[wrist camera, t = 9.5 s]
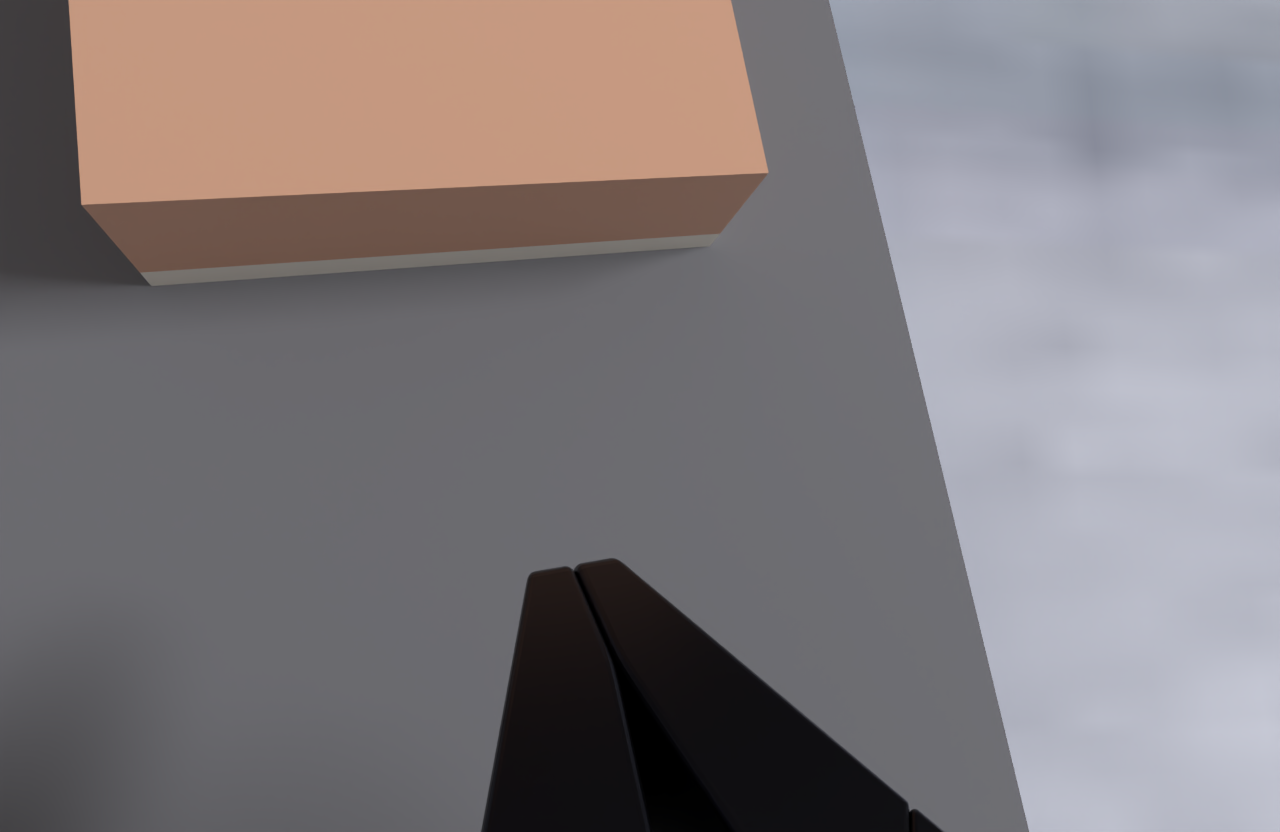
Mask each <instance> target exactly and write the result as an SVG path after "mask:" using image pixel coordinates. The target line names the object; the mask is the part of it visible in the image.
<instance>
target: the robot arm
mask: <svg viewBox="0 0 1280 832" xmlns="http://www.w3.org/2000/svg"><path fill="white" fill-rule="evenodd" d="M481 832H944V831H943V830H942V829H941V828H940V827H938V826H937V825H936V824H935V823H934V822H932V821H931V820H930V819H929V818H928V817H926V816H925V815H924V814H923V813H922V812H920V811H919V810H918V809H912V810H911V811H910V809H909V803H908V801H907V800H906V799H904V798H903V797H902V796H901V795H900V794H898V793H897V792H896V791H895V790H894V789H892V788H891V787H890V786H889V785H888V784H886V783H885V782H884V781H883V780H882V779H881V778H879V777H878V776H877V775H876V774H875V773H873V772H872V771H871V770H870V769H869V768H867V767H866V766H865V765H864V764H863V763H861V762H860V761H859V760H858V759H857V758H855V757H854V756H853V755H852V754H851V753H849V752H848V751H847V750H846V749H845V748H843V747H842V746H841V745H840V744H839V743H838V742H836V741H835V740H834V739H833V738H832V737H830V736H829V735H828V734H827V733H826V732H824V731H823V730H822V729H821V728H820V727H818V726H817V725H816V724H815V723H814V722H812V721H811V720H810V719H809V718H808V717H806V716H805V715H804V714H803V713H802V712H801V711H799V710H798V709H797V708H796V707H795V706H793V705H792V704H791V703H790V702H789V701H787V700H786V699H785V698H784V697H783V696H781V695H780V694H779V693H778V692H777V691H775V690H774V689H773V688H772V687H771V686H769V685H768V684H767V683H766V682H765V681H764V680H762V679H761V678H760V677H759V676H758V675H756V674H755V673H754V672H753V671H752V670H750V669H749V668H748V667H747V666H746V665H744V664H743V663H742V662H741V661H740V660H738V659H737V658H736V657H735V656H734V655H732V654H731V653H730V652H729V651H728V650H727V649H725V648H724V647H723V646H722V645H721V644H719V643H718V642H717V641H716V640H715V639H713V638H712V637H711V636H710V635H709V634H707V633H706V632H705V631H704V630H703V629H701V628H700V627H699V626H698V625H697V624H695V623H694V622H693V621H692V620H691V619H690V618H688V617H687V616H686V615H685V614H684V613H682V612H681V611H680V610H679V609H678V608H676V607H675V606H674V605H673V604H672V603H670V602H669V601H668V600H667V599H666V598H664V597H663V596H662V595H661V594H660V593H658V592H657V591H656V590H655V589H654V588H653V587H651V586H650V585H649V584H648V583H647V582H645V581H644V580H643V579H642V578H641V577H639V576H638V575H637V574H636V573H635V572H633V571H632V570H631V569H630V568H629V567H627V566H626V565H625V564H624V563H623V562H621V561H620V560H618V559H615V558H608V559H602V560H596V561H591V562H585V563H580V564H578V565H577V566H576V567H575V568H574V570H573V569H572V568H570V567H568V566H562V567H556V568H551V569H545V570H539V571H534V572H532V573H530V574H529V576H528V578H527V582H526V588H525V593H524V599H523V604H522V609H521V615H520V620H519V626H518V631H517V637H516V642H515V648H514V653H513V659H512V664H511V670H510V675H509V681H508V686H507V692H506V697H505V703H504V708H503V714H502V719H501V725H500V730H499V736H498V741H497V747H496V752H495V758H494V763H493V769H492V774H491V780H490V785H489V791H488V796H487V801H486V807H485V812H484V818H483V823H482V829H481Z"/></svg>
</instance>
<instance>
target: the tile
mask: <svg viewBox="0 0 1280 832" xmlns="http://www.w3.org/2000/svg"><path fill="white" fill-rule="evenodd" d="M69 15H70V31H71V47H72V63H73V78H74V94H75V110H76V126H77V142H78V158H79V174H80V189H81V205H82V206H83V207H84V208H85V209H86V211H87V212H88V213H89V214H90V215H91V216H92V218H93V219H94V220H95V221H96V222H97V223H98V225H99V226H100V227H101V228H102V229H103V230H104V232H105V233H106V234H107V235H108V236H109V237H110V239H111V240H112V241H113V242H114V243H115V244H116V246H117V247H118V248H119V249H120V250H121V251H122V252H123V254H124V255H125V256H126V257H127V258H128V259H129V261H130V262H131V263H132V264H133V265H134V266H135V268H136V269H137V270H138V271H139V272H140V273H141V275H142V276H143V277H144V278H145V279H146V280H147V282H148V283H149V284H150V285H151V286H160V285H174V284H188V283H202V282H216V281H230V280H244V279H258V278H272V277H286V276H300V275H314V274H328V273H342V272H356V271H370V270H384V269H398V268H412V267H426V266H440V265H454V264H468V263H482V262H497V261H511V260H525V259H539V258H553V257H567V256H581V255H595V254H609V253H623V252H637V251H651V250H665V249H679V248H693V247H707V246H710V245H711V244H712V243H713V242H714V240H715V239H716V238H717V237H718V236H719V234H720V233H721V232H722V231H723V229H724V228H725V227H726V226H727V224H728V223H729V222H730V221H731V219H732V218H733V217H734V216H735V214H736V213H737V212H738V211H739V209H740V208H741V207H742V206H743V204H744V203H745V202H746V201H747V199H748V198H749V197H750V196H751V194H752V193H753V192H754V191H755V189H756V188H757V187H758V186H759V184H760V183H761V182H762V181H763V179H764V178H765V177H766V176H767V174H768V173H769V172H768V168H767V163H766V159H765V154H764V149H763V145H762V140H761V136H760V131H759V127H758V122H757V117H756V113H755V108H754V104H753V99H752V94H751V90H750V85H749V81H748V76H747V72H746V67H745V62H744V58H743V53H742V49H741V44H740V39H739V35H738V30H737V26H736V21H735V17H734V12H733V7H732V3H731V0H69Z"/></svg>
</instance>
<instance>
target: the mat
mask: <svg viewBox="0 0 1280 832" xmlns="http://www.w3.org/2000/svg"><path fill="white" fill-rule="evenodd" d="M731 3H732V7H733V12H734V17H735V21H736V26H737V30H738V35H739V39H740V44H741V49H742V53H743V58H744V62H745V67H746V72H747V76H748V81H749V85H750V90H751V94H752V99H753V104H754V108H755V113H756V117H757V122H758V127H759V131H760V136H761V140H762V145H763V149H764V154H765V159H766V163H767V168H768V172H769V173H768V174H767V176H766V177H765V178H764V179H763V181H762V182H761V183H760V184H759V186H758V187H757V188H756V189H755V191H754V192H753V193H752V194H751V196H750V197H749V198H748V199H747V201H746V202H745V203H744V204H743V206H742V207H741V208H740V209H739V211H738V212H737V213H736V214H735V216H734V217H733V218H732V219H731V221H730V222H729V223H728V224H727V226H726V227H725V228H724V229H723V231H722V232H721V233H720V234H719V236H718V237H717V238H716V239H715V240H714V242H713V243H712V244H711V245H710V246H707V247H693V248H679V249H665V250H651V251H637V252H623V253H609V254H595V255H581V256H567V257H553V258H539V259H525V260H511V261H497V262H482V263H468V264H454V265H440V266H426V267H412V268H398V269H384V270H370V271H356V272H342V273H328V274H314V275H300V276H286V277H272V278H258V279H244V280H230V281H216V282H202V283H188V284H174V285H160V286H151V285H150V284H149V283H148V282H147V280H146V279H145V278H144V277H143V276H142V275H141V273H140V272H139V271H138V270H137V269H136V268H135V266H134V265H133V264H132V263H131V262H130V261H129V259H128V258H127V257H126V256H125V255H124V254H123V252H122V251H121V250H120V249H119V248H118V247H117V246H116V244H115V243H114V242H113V241H112V240H111V239H110V237H109V236H108V235H107V234H106V233H105V232H104V230H103V229H102V228H101V227H100V226H99V225H98V223H97V222H96V221H95V220H94V219H93V218H92V216H91V215H90V214H89V213H88V212H87V211H86V209H85V208H84V207H83V206H82V205H81V189H80V174H79V158H78V142H77V126H76V110H75V94H74V78H73V63H72V47H71V31H70V15H69V0H0V832H481V829H482V823H483V818H484V812H485V807H486V801H487V796H488V791H489V785H490V780H491V774H492V769H493V763H494V758H495V752H496V747H497V741H498V736H499V730H500V725H501V719H502V714H503V708H504V703H505V697H506V692H507V686H508V681H509V675H510V670H511V664H512V659H513V653H514V648H515V642H516V637H517V631H518V626H519V620H520V615H521V609H522V604H523V599H524V593H525V588H526V582H527V578H528V576H529V574H530V573H532V572H534V571H539V570H545V569H551V568H556V567H562V566H568V567H570V568H572V569H573V570H574V568H575V567H576V566H577V565H578V564H580V563H585V562H591V561H596V560H602V559H608V558H615V559H618V560H620V561H621V562H623V563H624V564H625V565H626V566H627V567H629V568H630V569H631V570H632V571H633V572H635V573H636V574H637V575H638V576H639V577H641V578H642V579H643V580H644V581H645V582H647V583H648V584H649V585H650V586H651V587H653V588H654V589H655V590H656V591H657V592H658V593H660V594H661V595H662V596H663V597H664V598H666V599H667V600H668V601H669V602H670V603H672V604H673V605H674V606H675V607H676V608H678V609H679V610H680V611H681V612H682V613H684V614H685V615H686V616H687V617H688V618H690V619H691V620H692V621H693V622H694V623H695V624H697V625H698V626H699V627H700V628H701V629H703V630H704V631H705V632H706V633H707V634H709V635H710V636H711V637H712V638H713V639H715V640H716V641H717V642H718V643H719V644H721V645H722V646H723V647H724V648H725V649H727V650H728V651H729V652H730V653H731V654H732V655H734V656H735V657H736V658H737V659H738V660H740V661H741V662H742V663H743V664H744V665H746V666H747V667H748V668H749V669H750V670H752V671H753V672H754V673H755V674H756V675H758V676H759V677H760V678H761V679H762V680H764V681H765V682H766V683H767V684H768V685H769V686H771V687H772V688H773V689H774V690H775V691H777V692H778V693H779V694H780V695H781V696H783V697H784V698H785V699H786V700H787V701H789V702H790V703H791V704H792V705H793V706H795V707H796V708H797V709H798V710H799V711H801V712H802V713H803V714H804V715H805V716H806V717H808V718H809V719H810V720H811V721H812V722H814V723H815V724H816V725H817V726H818V727H820V728H821V729H822V730H823V731H824V732H826V733H827V734H828V735H829V736H830V737H832V738H833V739H834V740H835V741H836V742H838V743H839V744H840V745H841V746H842V747H843V748H845V749H846V750H847V751H848V752H849V753H851V754H852V755H853V756H854V757H855V758H857V759H858V760H859V761H860V762H861V763H863V764H864V765H865V766H866V767H867V768H869V769H870V770H871V771H872V772H873V773H875V774H876V775H877V776H878V777H879V778H881V779H882V780H883V781H884V782H885V783H886V784H888V785H889V786H890V787H891V788H892V789H894V790H895V791H896V792H897V793H898V794H900V795H901V796H902V797H903V798H904V799H906V800H907V801H908V803H909V809H910V811H911V810H912V809H918V810H919V811H920V812H922V813H923V814H924V815H925V816H926V817H928V818H929V819H930V820H931V821H932V822H934V823H935V824H936V825H937V826H938V827H940V828H941V829H942V830H943V831H944V832H1029V830H1028V826H1027V821H1026V817H1025V813H1024V809H1023V805H1022V801H1021V797H1020V792H1019V788H1018V784H1017V780H1016V776H1015V772H1014V767H1013V763H1012V759H1011V755H1010V751H1009V747H1008V743H1007V738H1006V734H1005V730H1004V726H1003V722H1002V718H1001V714H1000V709H999V705H998V701H997V697H996V693H995V689H994V684H993V680H992V676H991V672H990V668H989V664H988V660H987V655H986V651H985V647H984V643H983V639H982V635H981V631H980V626H979V622H978V618H977V614H976V610H975V606H974V602H973V597H972V593H971V589H970V585H969V581H968V577H967V572H966V568H965V564H964V560H963V556H962V552H961V548H960V543H959V539H958V535H957V531H956V527H955V523H954V519H953V514H952V510H951V506H950V502H949V498H948V494H947V489H946V485H945V481H944V477H943V473H942V469H941V465H940V460H939V456H938V452H937V448H936V444H935V440H934V436H933V431H932V427H931V423H930V419H929V415H928V411H927V407H926V402H925V398H924V394H923V390H922V386H921V382H920V377H919V373H918V369H917V365H916V361H915V357H914V353H913V348H912V344H911V340H910V336H909V332H908V328H907V324H906V319H905V315H904V311H903V307H902V303H901V299H900V295H899V290H898V286H897V282H896V278H895V274H894V270H893V265H892V261H891V257H890V253H889V249H888V245H887V241H886V236H885V232H884V228H883V224H882V220H881V216H880V212H879V207H878V203H877V199H876V195H875V191H874V187H873V182H872V178H871V174H870V170H869V166H868V162H867V158H866V153H865V149H864V145H863V141H862V137H861V133H860V129H859V124H858V120H857V116H856V112H855V108H854V104H853V100H852V95H851V91H850V87H849V83H848V79H847V75H846V70H845V66H844V62H843V58H842V54H841V50H840V46H839V41H838V37H837V33H836V29H835V25H834V21H833V17H832V12H831V8H830V4H829V0H731Z"/></svg>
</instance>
